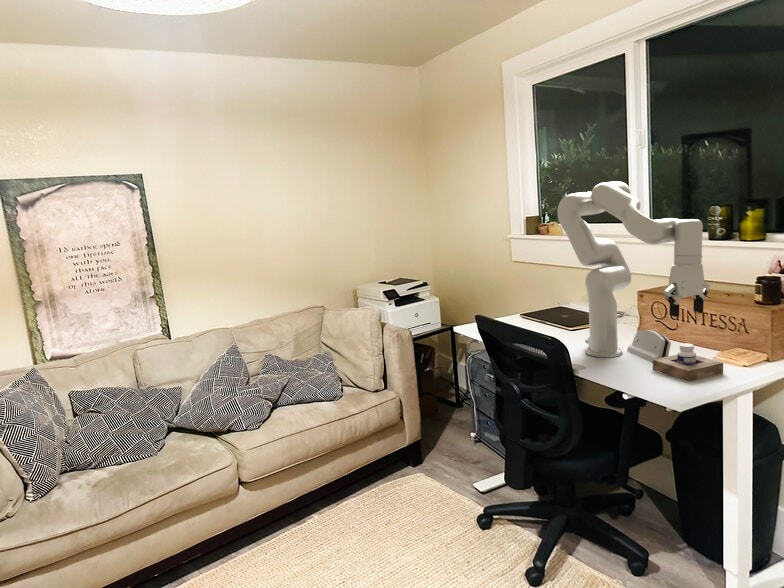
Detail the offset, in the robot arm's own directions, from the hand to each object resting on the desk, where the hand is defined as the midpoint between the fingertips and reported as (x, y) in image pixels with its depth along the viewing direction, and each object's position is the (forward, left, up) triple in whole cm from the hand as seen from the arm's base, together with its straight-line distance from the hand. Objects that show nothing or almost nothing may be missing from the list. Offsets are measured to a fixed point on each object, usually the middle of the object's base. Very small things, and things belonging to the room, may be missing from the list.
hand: (686, 314), depth 176 cm
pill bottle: (0, 0, -19) cm, 19 cm away
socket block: (0, 0, -19) cm, 19 cm away
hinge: (-19, +4, -19) cm, 28 cm away
